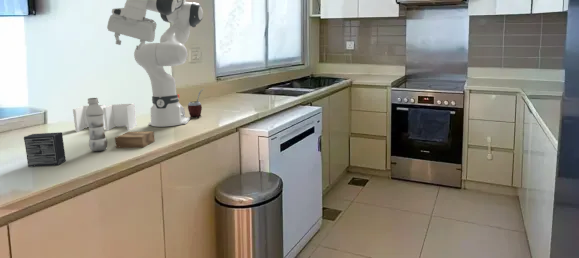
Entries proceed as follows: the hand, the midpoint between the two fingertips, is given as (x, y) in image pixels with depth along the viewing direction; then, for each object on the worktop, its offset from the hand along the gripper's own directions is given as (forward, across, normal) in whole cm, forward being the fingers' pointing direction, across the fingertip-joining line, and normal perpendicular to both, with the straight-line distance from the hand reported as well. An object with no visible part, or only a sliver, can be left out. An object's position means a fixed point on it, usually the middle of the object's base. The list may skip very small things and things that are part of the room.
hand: (128, 47), depth 202 cm
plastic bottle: (+38, -11, +28) cm, 48 cm away
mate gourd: (+31, -21, -46) cm, 59 cm away
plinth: (+34, -20, +18) cm, 44 cm away
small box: (+41, -3, +46) cm, 62 cm away
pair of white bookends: (+42, +11, -16) cm, 47 cm away
